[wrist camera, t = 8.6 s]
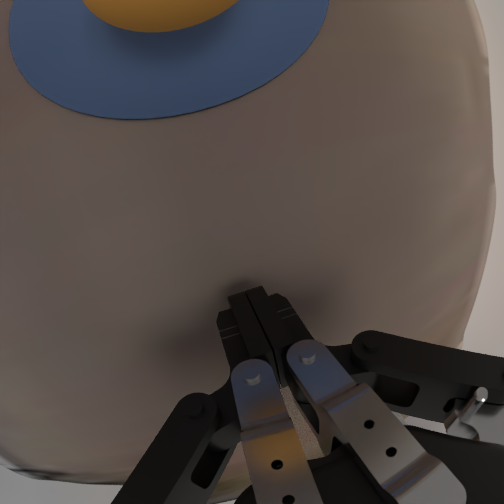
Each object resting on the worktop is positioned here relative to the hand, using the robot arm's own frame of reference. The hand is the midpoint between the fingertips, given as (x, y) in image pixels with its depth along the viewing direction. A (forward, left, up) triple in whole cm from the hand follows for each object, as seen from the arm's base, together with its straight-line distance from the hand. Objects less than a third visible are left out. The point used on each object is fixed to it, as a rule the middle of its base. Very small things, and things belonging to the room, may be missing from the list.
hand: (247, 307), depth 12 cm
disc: (-15, 0, -2) cm, 15 cm away
